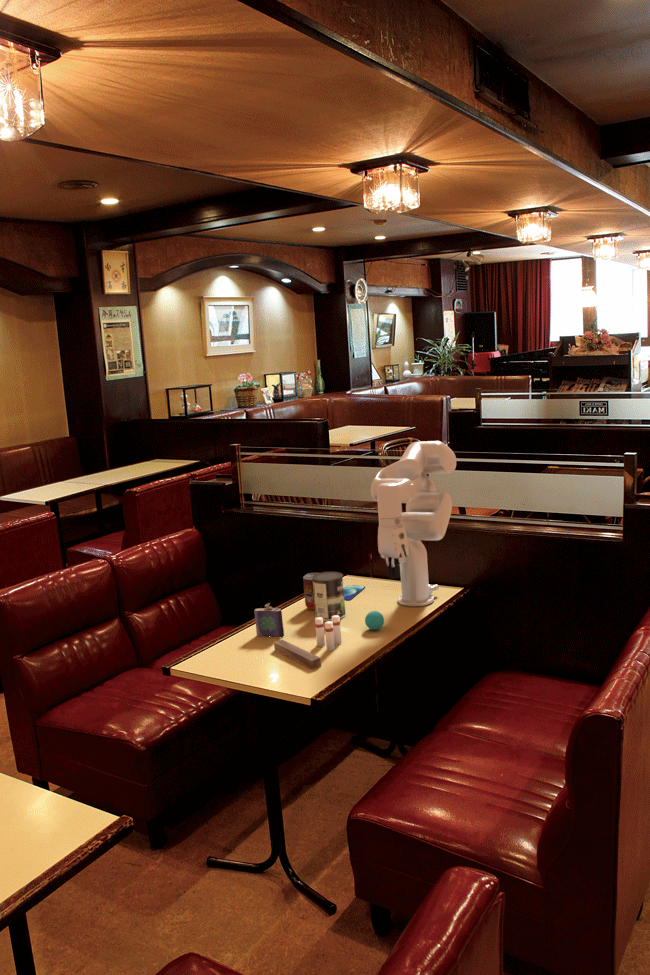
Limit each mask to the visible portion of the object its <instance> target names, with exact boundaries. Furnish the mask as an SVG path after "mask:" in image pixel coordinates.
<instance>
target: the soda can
mask: <svg viewBox="0 0 650 975" xmlns="http://www.w3.org/2000/svg"><path fill="white" fill-rule="evenodd" d="M318 573H319V572H308V573H307V574H305V575H304V576H303V577H302V581H303V592H304V605H305V607H306V608H307V610H308V611H309V610H311V611H310V612H316V611H315V600H314V589H313V580H312V576H314V575H316V574H318Z"/></svg>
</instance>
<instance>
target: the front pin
mask: <svg viewBox="0 0 650 975" xmlns="http://www.w3.org/2000/svg"><path fill="white" fill-rule="evenodd" d="M331 622H333V633H334V645H335V644H339V645H342V643H343V642H342V633H341V632H342V631H341V629H342V628H341V619H340V617H339V616H338V615H334V616H332V621H331Z"/></svg>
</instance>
